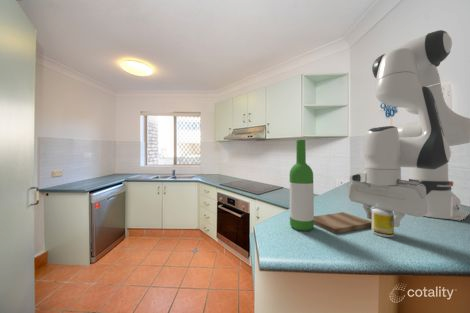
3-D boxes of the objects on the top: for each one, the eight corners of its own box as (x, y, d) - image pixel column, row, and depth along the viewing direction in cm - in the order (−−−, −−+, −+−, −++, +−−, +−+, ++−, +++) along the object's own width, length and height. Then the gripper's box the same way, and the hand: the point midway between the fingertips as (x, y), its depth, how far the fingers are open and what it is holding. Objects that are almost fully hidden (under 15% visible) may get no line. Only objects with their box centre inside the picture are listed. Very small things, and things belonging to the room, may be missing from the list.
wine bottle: (307, 222, 66) (306, 141, 66) (318, 231, 58) (317, 138, 59) (286, 223, 66) (285, 141, 66) (294, 232, 58) (294, 138, 58)
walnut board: (343, 215, 74) (343, 212, 74) (374, 226, 62) (374, 222, 62) (307, 221, 68) (307, 217, 68) (334, 233, 57) (334, 229, 57)
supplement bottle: (398, 238, 53) (398, 205, 53) (377, 236, 54) (377, 204, 54) (386, 231, 58) (386, 200, 59) (368, 229, 60) (367, 200, 60)
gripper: (433, 181, 48) (433, 234, 48) (357, 174, 67) (358, 212, 67) (418, 182, 46) (419, 237, 46) (345, 175, 65) (345, 213, 65)
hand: (382, 222), depth 56 cm, fingers closed on supplement bottle, 5 cm apart
